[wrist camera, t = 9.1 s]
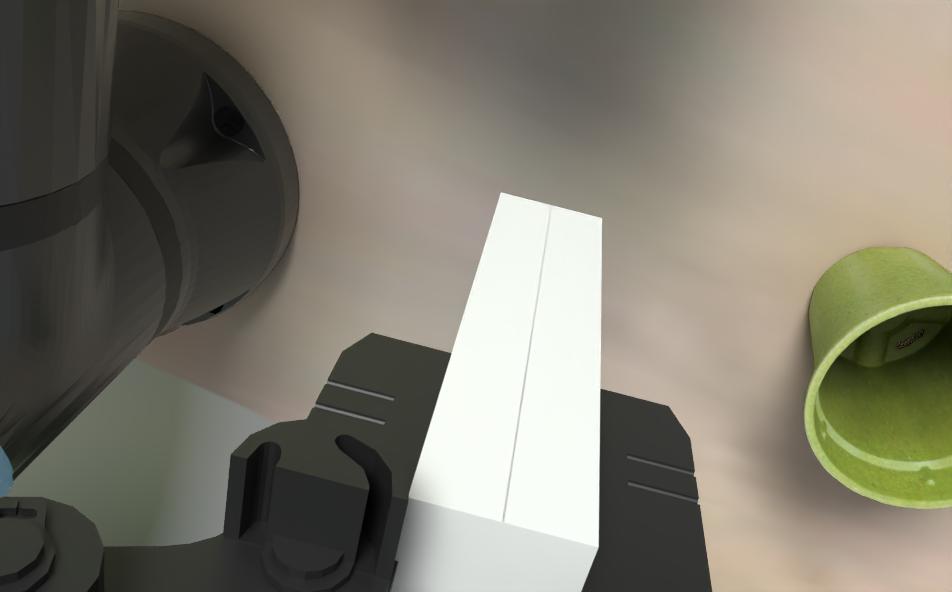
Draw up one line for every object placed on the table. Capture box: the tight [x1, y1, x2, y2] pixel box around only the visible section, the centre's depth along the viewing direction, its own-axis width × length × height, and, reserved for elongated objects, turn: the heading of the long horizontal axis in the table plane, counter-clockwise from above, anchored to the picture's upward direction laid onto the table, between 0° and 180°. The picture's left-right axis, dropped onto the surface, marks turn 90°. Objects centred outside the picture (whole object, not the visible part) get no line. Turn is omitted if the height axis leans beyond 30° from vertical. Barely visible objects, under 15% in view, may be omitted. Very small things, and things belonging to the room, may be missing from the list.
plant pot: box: [804, 247, 952, 509], centre depth 35 cm, size 9×9×9 cm
